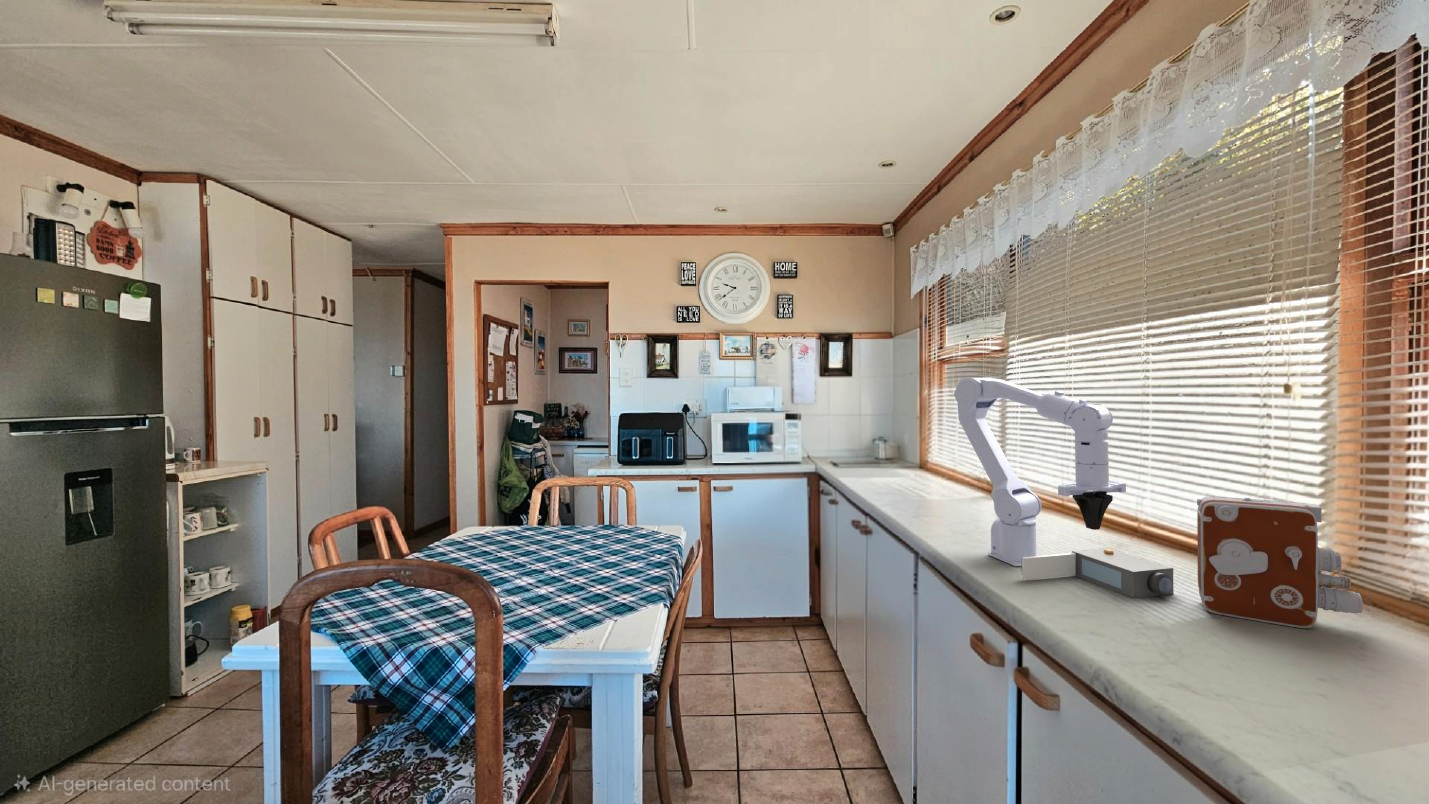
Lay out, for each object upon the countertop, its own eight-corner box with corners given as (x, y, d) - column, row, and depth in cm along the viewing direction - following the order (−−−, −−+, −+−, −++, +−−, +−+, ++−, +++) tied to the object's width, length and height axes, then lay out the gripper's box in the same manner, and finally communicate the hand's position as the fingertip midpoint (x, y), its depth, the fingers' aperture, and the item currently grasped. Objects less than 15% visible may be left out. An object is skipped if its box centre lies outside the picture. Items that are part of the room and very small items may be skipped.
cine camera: (1371, 643, 84) (1370, 512, 84) (1201, 615, 96) (1200, 499, 95) (1351, 622, 91) (1351, 502, 91) (1196, 598, 103) (1195, 491, 103)
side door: (1071, 573, 117) (1071, 551, 117) (1077, 575, 116) (1077, 553, 116) (1020, 578, 115) (1019, 556, 115) (1025, 580, 114) (1024, 558, 114)
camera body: (1072, 574, 117) (1071, 548, 117) (1108, 571, 119) (1108, 545, 119) (1142, 602, 102) (1142, 571, 102) (1183, 597, 103) (1183, 567, 103)
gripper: (1077, 467, 109) (1078, 535, 109) (1139, 463, 112) (1140, 530, 112) (1049, 463, 116) (1050, 527, 116) (1108, 459, 119) (1109, 522, 119)
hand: (1092, 528), depth 115 cm, fingers closed
